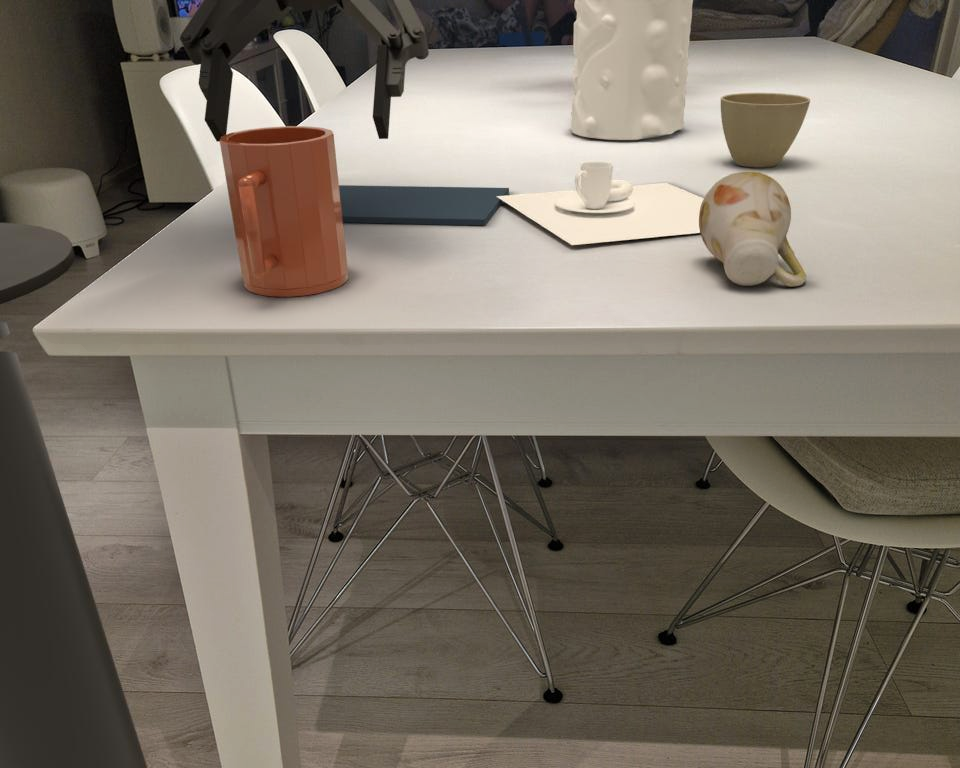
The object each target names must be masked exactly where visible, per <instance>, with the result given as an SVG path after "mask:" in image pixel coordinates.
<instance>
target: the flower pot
mask: <svg viewBox="0 0 960 768" xmlns="http://www.w3.org/2000/svg"><path fill="white" fill-rule="evenodd" d="M810 103H811V98H810V97H807V96H803V95H798V94H791V93H781V92H780V93H777V92H742V93H741V92H739V93H731V94H730V93H729V94H725V95H722V96H720V118H721V124H722V130H723V135H724V139H725V142H726V146H727V148H728V151H729V154H730V156H731V159H732V161H733V163H734V164H735V165H737V166H740V167H746V168H772V167H776V166H777V165H778V164H779V163H780V162H781V161H782V160H783V158H784V157H785V155H786V154H787V152H788V151H789V150H790V148H791V146H792V145H793V143H794V141H795V140H796V138H797V136H798V134H799V132H800V131H801V128H802V126H803V124H804V121H805V118H806V115H807V113H808V110H809V107H810Z"/></svg>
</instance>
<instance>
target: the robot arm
mask: <svg viewBox="0 0 960 768" xmlns="http://www.w3.org/2000/svg"><path fill="white" fill-rule="evenodd" d="M386 2H387V5H388V6H389V8H390V10H391V12H392V15H393V16H394V18H395V20H396V23H397V24H398V26H399V27H397V28H398V29H397V28H396V27H395V26H394V25H393V24H392V23H391V22H390V21H389V19H387V17H385V16H384V15H383V13H381V11H380V10H379V9H378V8H377V7H376V5H374V4H373V3H372V1H370V0H203V1H202V2H201V4H200V5H199V7H198V8H197V9H196V11H195V13H194V14H193V15H192V17H191V19H190V21H189V22H188V23H187V25H186V26H185V28H184V29H183V30H182V32H181V34H180V35H179V41H180V42H181V44H182V46H183V48H184V50H185V51H186V54H187V55H188V57H189V59H190V60H191V63H192V64H193V65H196V66H197V65H200V66H199V67H200V68H199V75H198V86H199V90H200V91H201V93H202V95H203V97H204V99H205V100H206V103H205V113H204V122H205V123H206V126H207V127H208V129H209V130H210V132H211V134H212V136H213V137H214V139H215V141H216V142H217V143H220V138H221V137H222V136H224V135H227V134H228V133H227V131H228V124H229V114H230V106H231V105H230V104H231V95H232V86H233V78H234V77H233V76H234V72H233V70H232V67H231V65H230V64H229V63H231V62H232V61H233V60H234V59H235V58H236V57H237V56H238V55H239V54H240V53H241V52H242V51H243V50H244V49H245V48H246V47H247V46H248V45H249V44H250V43H251V42H252V41H253V40H255V38H256V37H257V36H258V35H259V34H260V33H261V32H263V30H265V29H266V28H267V27H268V26H269V25H270V24H271V23H272V22H273V21H280V20H282V19H283V18H284V17H285V15H287V14H288V12H289V11H291V10H292V11H293V13H304V12H308V11H311V10H313V11H317V12H330V11H331V8H334V7H336V6H337V7H338V8H339V10H340V11H341V12H342V13H343V14H344V15H345V16H346V17H347V18H348V19H349V20H350V19H352V21H353V22H354V23H355V24H356V25H357V26H358V27H359V28H360V29H361V30H362V32H363V33H364V34H365V35H366V36H367V38H369V39H370V41H372V43H373V44H374V45H375V46H376V47H377V51H376V64H375V65H376V66H375V79H374V93H373V105H372V120H373V123H374V126H375V131H376V133H377V137H378V140H388V139H389V134H390V133H389V131H390V117H391V116H390V115H391V103H392V98H401V97H402V95H403V94H404V91H405V76H406V66H407V63H408V62H409V61H410V60H412V59H415V58H416V59H418V60H425V59H427V58H428V57H429V53H430V51H429V46H428V40H427V34H426V31H425V27H424V25H423V23H422V21H421V19H420V17H419V15H418V13H417V12H416V10H415V8H414V6H413V4H412V1H411V0H386Z"/></svg>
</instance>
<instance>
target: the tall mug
mask: <svg viewBox="0 0 960 768" xmlns="http://www.w3.org/2000/svg"><path fill="white" fill-rule="evenodd" d="M219 146H220V152H221V157H222V163H223V171H224V175H225V182H226V187H227V193H228V194H227V195H228V199H229V205H230V212H231V217H232V223H233V230H234V236H235V241H236V248H237V253H238V254H237V255H238V259H239V265H240V271H241V277H242V281H243V285H244V288H245V289H246V290H247V291H248V292H250V293H253V294H255V295H260V296H265V297H276V298H280V297H281V298H290V297H293V298H294V297H304V296H305V297H306V296H310V295H316V294H321V293H325V292H328V291H333V290H335V289H336V288H339V287H341V286H342V285H345V283H346V282H347V281H348V279H349V274H348V273H349V268H348V260H347V259H348V258H347V249H346V239H345V229H344V222H343V220H342V210H341V201H340V191H339V185H340V184H339V183H340V182H339V172H338V162H337V154H336V145H335V134H334V132H333V130H332V129H328V128H324V127H317V126H305V125H301V126H299V125H295V126H294V125H289V126H287V125H286V126H285V125H284V126H269V127H257V128H250V129H243V130H239V131H234V132H230V133H226V135H224V136H222V137H221V138H220V142H219Z"/></svg>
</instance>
